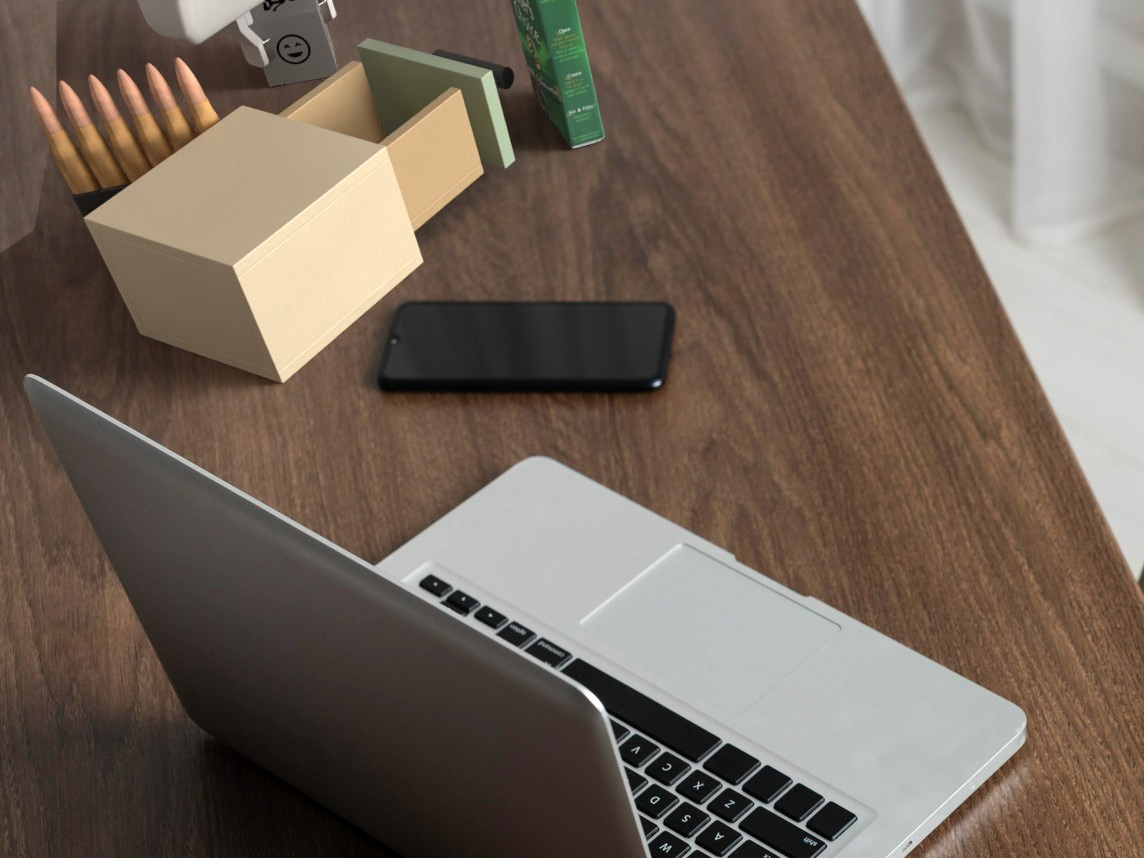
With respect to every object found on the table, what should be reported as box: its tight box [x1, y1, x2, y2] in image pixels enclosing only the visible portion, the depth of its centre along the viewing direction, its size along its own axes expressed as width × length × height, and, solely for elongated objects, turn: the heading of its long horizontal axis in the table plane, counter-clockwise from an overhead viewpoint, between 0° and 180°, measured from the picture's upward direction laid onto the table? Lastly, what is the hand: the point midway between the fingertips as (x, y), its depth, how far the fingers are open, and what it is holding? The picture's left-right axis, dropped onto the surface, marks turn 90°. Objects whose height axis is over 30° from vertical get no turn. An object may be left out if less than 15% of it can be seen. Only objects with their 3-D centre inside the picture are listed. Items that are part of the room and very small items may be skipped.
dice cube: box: [248, 0, 339, 87], centre depth 127 cm, size 5×5×5 cm
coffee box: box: [509, 0, 606, 149], centre depth 119 cm, size 8×3×13 cm, turn 29°
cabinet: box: [82, 104, 424, 384], centre depth 107 cm, size 14×12×9 cm
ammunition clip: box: [28, 56, 222, 265], centre depth 110 cm, size 11×2×12 cm, turn 104°
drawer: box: [277, 37, 516, 233], centre depth 115 cm, size 17×10×7 cm, turn 154°
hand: (293, 41), depth 128 cm, fingers closed on dice cube, 5 cm apart
